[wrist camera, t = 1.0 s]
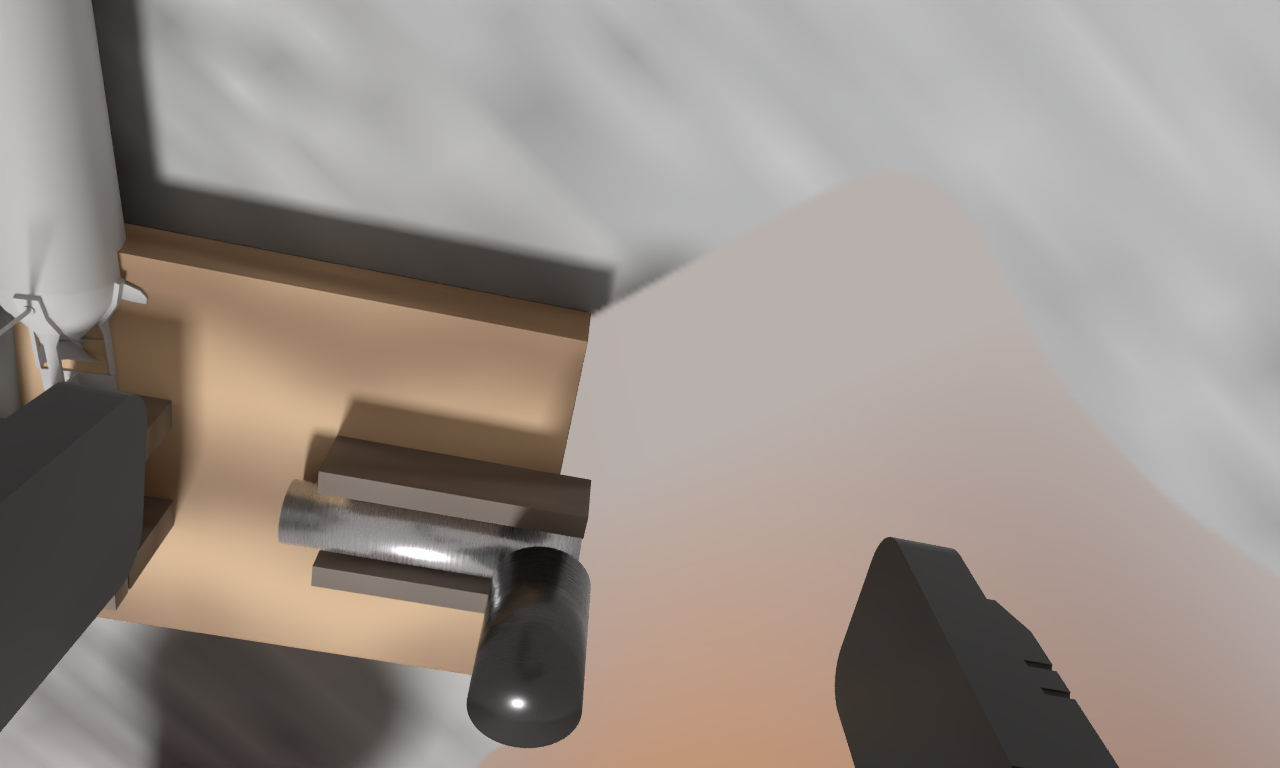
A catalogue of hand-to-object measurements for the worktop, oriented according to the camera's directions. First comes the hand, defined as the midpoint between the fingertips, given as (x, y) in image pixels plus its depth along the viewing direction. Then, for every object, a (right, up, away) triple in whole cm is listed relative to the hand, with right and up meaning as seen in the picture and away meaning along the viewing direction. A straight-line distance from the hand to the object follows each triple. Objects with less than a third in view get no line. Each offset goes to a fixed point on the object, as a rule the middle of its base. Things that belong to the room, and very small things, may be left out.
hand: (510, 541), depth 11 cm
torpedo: (-15, +10, +17) cm, 24 cm away
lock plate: (-11, 0, +22) cm, 25 cm away
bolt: (-5, -3, +21) cm, 22 cm away
